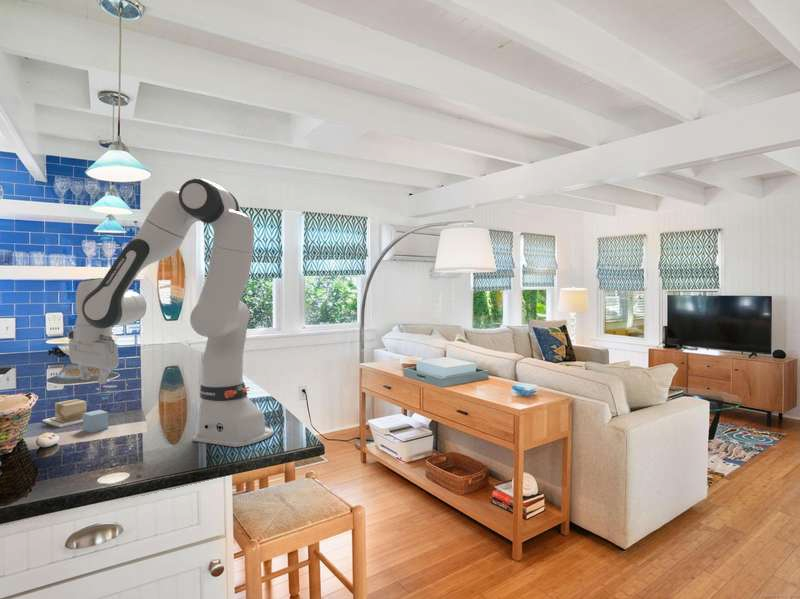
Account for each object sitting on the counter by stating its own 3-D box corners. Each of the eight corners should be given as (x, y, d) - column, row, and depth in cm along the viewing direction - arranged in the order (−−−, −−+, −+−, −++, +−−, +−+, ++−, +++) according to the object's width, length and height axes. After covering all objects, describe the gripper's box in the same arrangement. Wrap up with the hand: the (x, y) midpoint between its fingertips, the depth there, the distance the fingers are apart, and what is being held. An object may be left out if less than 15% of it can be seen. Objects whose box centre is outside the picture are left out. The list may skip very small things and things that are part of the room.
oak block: (86, 417, 144) (86, 401, 143) (65, 422, 138) (64, 405, 138) (76, 414, 146) (76, 398, 146) (55, 419, 141) (55, 403, 141)
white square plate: (99, 418, 145) (99, 416, 145) (60, 427, 135) (60, 425, 135) (81, 413, 150) (81, 411, 150) (42, 421, 141) (42, 419, 141)
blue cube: (108, 428, 135) (107, 411, 134) (91, 433, 131) (90, 415, 130) (99, 426, 137) (99, 409, 137) (82, 430, 133) (82, 413, 133)
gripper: (125, 335, 130) (124, 384, 131) (87, 330, 141) (87, 375, 141) (101, 337, 125) (101, 388, 125) (64, 332, 135) (64, 378, 136)
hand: (93, 381), depth 133 cm, fingers open, 8 cm apart
